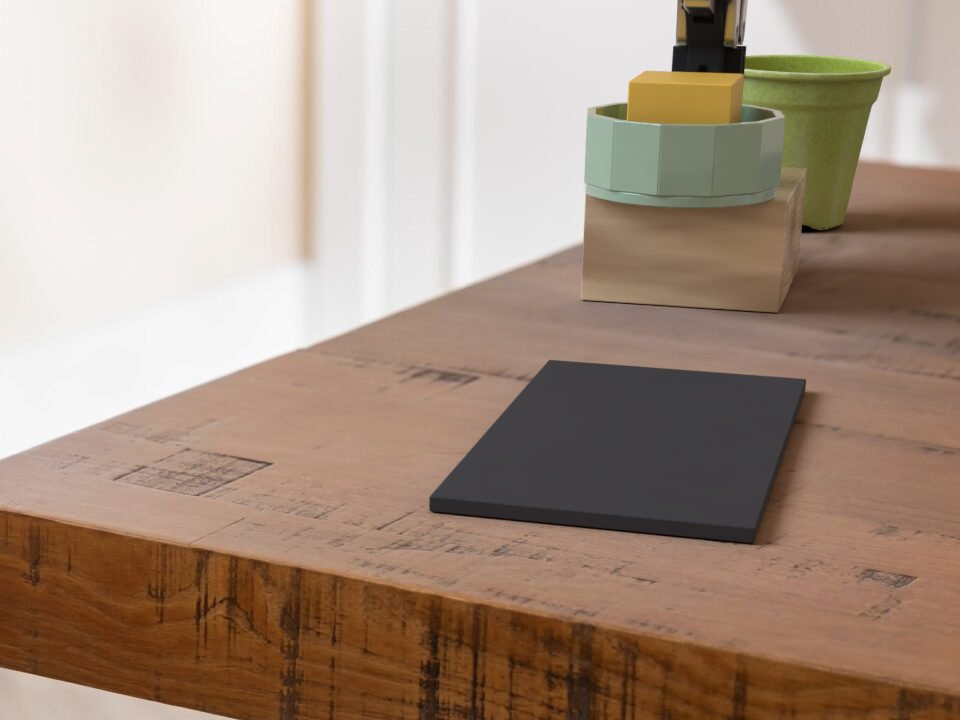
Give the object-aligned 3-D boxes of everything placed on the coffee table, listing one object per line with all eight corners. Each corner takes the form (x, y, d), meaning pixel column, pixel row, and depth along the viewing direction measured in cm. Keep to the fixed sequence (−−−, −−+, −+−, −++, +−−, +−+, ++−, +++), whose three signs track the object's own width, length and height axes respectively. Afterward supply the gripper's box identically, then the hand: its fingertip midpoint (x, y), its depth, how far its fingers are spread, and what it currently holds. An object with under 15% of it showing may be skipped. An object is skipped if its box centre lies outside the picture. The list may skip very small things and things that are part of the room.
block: (638, 170, 87) (643, 70, 85) (736, 175, 86) (743, 73, 84) (622, 185, 83) (628, 81, 81) (725, 190, 82) (733, 84, 80)
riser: (618, 259, 95) (623, 159, 93) (798, 269, 93) (807, 167, 91) (580, 300, 86) (585, 190, 84) (778, 313, 84) (787, 200, 82)
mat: (548, 371, 74) (548, 359, 74) (805, 391, 71) (806, 378, 71) (428, 511, 58) (429, 496, 58) (753, 544, 55) (754, 528, 55)
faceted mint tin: (641, 171, 90) (645, 96, 89) (808, 188, 85) (815, 110, 84) (547, 195, 83) (551, 114, 82) (723, 215, 79) (729, 130, 77)
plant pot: (903, 220, 105) (920, 61, 102) (827, 245, 99) (843, 75, 95) (754, 202, 111) (766, 51, 108) (673, 224, 104) (683, 63, 101)
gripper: (804, -308, 75) (764, 159, 81) (836, -283, 88) (799, 117, 95) (618, -304, 77) (594, 150, 83) (676, -280, 90) (651, 111, 97)
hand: (703, 132), depth 89 cm, fingers closed
